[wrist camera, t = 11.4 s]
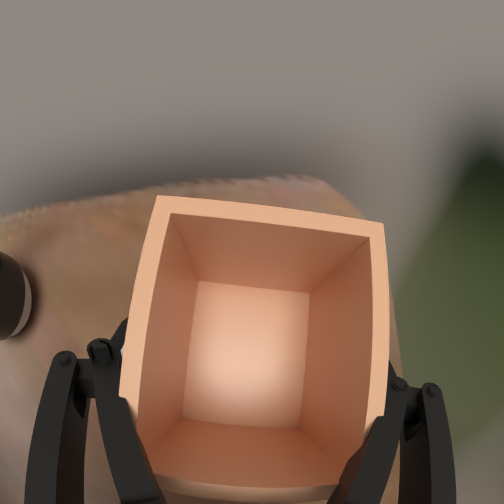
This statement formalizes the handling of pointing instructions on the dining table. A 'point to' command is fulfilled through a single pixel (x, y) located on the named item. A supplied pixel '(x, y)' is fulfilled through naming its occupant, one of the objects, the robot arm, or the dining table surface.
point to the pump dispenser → (13, 297)
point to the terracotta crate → (255, 348)
